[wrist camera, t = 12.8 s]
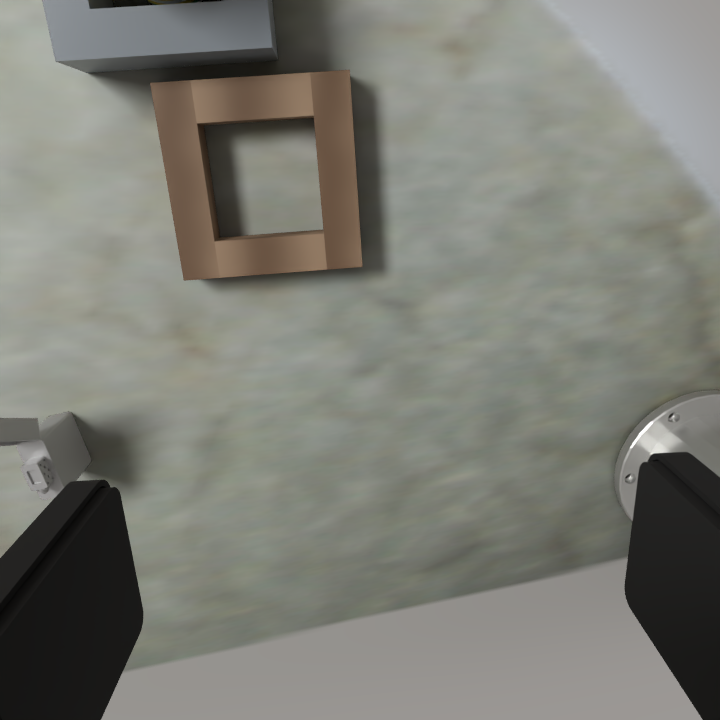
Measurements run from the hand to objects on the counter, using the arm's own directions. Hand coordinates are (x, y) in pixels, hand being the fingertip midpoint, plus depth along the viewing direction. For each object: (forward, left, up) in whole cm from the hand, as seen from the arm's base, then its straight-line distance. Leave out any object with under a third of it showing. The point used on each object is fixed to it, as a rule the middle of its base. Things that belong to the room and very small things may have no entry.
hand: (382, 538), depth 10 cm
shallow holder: (+4, -6, -29) cm, 29 cm away
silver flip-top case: (+20, +9, -29) cm, 36 cm away
